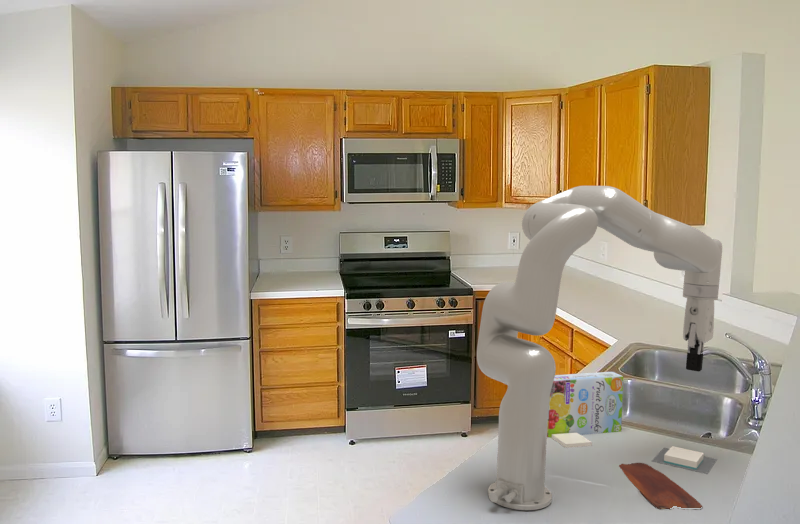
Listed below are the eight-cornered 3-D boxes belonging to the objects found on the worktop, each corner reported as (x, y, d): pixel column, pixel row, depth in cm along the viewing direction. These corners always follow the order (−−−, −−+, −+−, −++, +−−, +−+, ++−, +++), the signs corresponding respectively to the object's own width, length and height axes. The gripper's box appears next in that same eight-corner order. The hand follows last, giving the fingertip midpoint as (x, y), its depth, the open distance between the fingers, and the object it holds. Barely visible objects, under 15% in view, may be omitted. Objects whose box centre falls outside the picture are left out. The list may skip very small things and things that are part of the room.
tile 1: (591, 449, 172) (591, 441, 172) (565, 451, 170) (566, 444, 170) (576, 439, 179) (576, 432, 178) (551, 441, 177) (551, 434, 176)
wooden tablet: (706, 513, 139) (706, 504, 139) (656, 513, 138) (657, 505, 138) (647, 461, 166) (647, 454, 165) (605, 461, 165) (606, 454, 164)
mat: (707, 475, 156) (707, 474, 156) (651, 462, 163) (651, 461, 163) (717, 460, 165) (717, 459, 165) (664, 449, 172) (664, 447, 172)
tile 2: (703, 460, 164) (696, 469, 158) (671, 453, 168) (663, 462, 162) (703, 452, 164) (696, 462, 158) (672, 446, 168) (664, 454, 162)
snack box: (609, 426, 188) (612, 370, 186) (621, 433, 183) (625, 376, 181) (537, 432, 182) (539, 374, 180) (547, 439, 176) (550, 380, 175)
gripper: (711, 296, 155) (703, 378, 157) (724, 291, 168) (717, 367, 169) (675, 292, 160) (668, 372, 161) (690, 287, 172) (684, 362, 174)
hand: (693, 369), depth 165 cm, fingers closed
